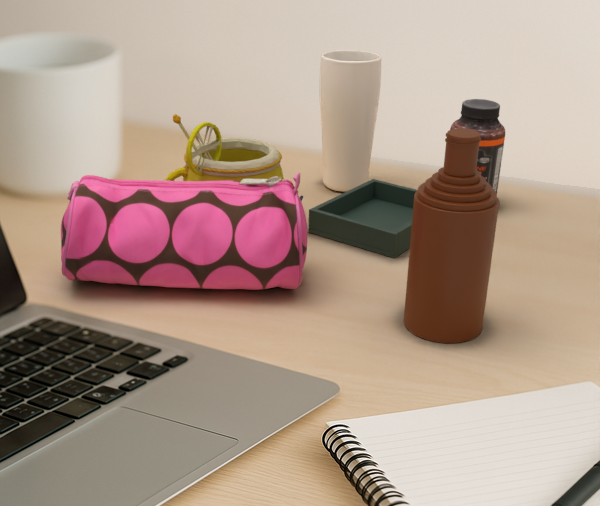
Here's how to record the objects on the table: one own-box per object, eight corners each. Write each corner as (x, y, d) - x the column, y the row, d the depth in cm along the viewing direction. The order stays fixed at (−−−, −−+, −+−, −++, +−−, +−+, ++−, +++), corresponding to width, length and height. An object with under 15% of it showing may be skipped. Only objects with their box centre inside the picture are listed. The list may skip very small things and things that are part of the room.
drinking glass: (379, 180, 99) (388, 52, 92) (366, 198, 94) (374, 63, 87) (325, 173, 101) (329, 47, 94) (309, 191, 95) (312, 58, 88)
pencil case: (303, 257, 79) (305, 156, 75) (307, 305, 71) (310, 194, 66) (77, 257, 78) (66, 155, 74) (54, 305, 70) (39, 192, 65)
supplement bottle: (439, 210, 91) (449, 107, 86) (444, 192, 96) (454, 94, 91) (494, 215, 90) (508, 112, 84) (496, 197, 95) (509, 98, 90)
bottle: (423, 298, 72) (441, 116, 65) (493, 318, 69) (520, 130, 62) (390, 328, 67) (405, 135, 60) (464, 351, 64) (489, 151, 57)
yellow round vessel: (267, 200, 93) (266, 93, 87) (300, 237, 84) (302, 120, 78) (153, 213, 89) (145, 101, 83) (175, 253, 80) (168, 130, 74)
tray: (371, 199, 93) (373, 178, 92) (453, 221, 88) (455, 198, 87) (308, 232, 85) (308, 209, 84) (393, 258, 79) (395, 234, 78)
